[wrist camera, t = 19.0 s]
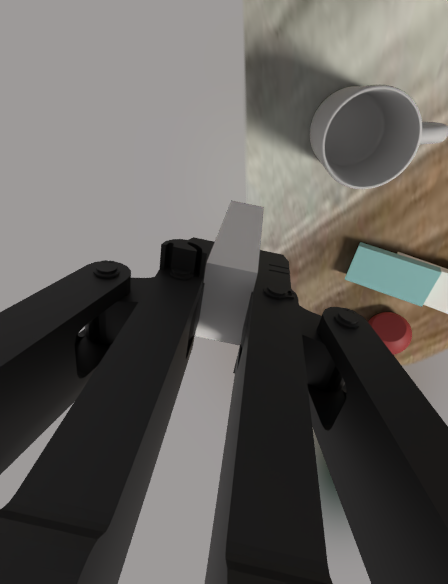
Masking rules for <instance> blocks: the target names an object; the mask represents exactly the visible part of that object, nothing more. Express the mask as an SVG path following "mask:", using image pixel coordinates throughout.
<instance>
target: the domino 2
mask: <svg viewBox="0 0 448 584" xmlns="http://www.w3.org/2000/svg"><path fill="white" fill-rule="evenodd" d="M397 254H399V255H402V256H405V257H408V258H412V259H415V260H418V261H421V262H424V263H427V264H430V265H434V266H437V267H440V266H438V265H435V264H432V263H429V262H426V261H423V260H421V259H418V258H415V257H412V256H409V255H406V254H403V253H401V252H397ZM440 269H441V272H442V273H441V275H440V277H439V278H438V280H437V282H436V283H435V285H434V287H433V288H432V290H431V292H430V294H429V295H428V297H427V299H426V300H425V302H424V304H423V305H426V306H429V307H431V308H434V309H437V310H439V311H442V312H444V313H447V314H448V269H446V268H443V267H440Z"/></svg>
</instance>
